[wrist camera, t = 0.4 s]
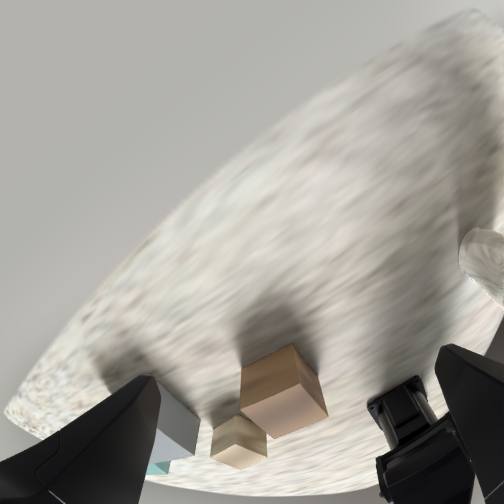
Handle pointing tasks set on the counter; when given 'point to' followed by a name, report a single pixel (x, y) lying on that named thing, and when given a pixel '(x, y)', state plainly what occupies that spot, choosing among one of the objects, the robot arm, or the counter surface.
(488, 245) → the cup with straw
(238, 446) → the maple cube
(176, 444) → the grey cube
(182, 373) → the counter surface
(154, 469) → the teal cube
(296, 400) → the walnut cube
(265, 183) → the counter surface
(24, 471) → the robot arm
